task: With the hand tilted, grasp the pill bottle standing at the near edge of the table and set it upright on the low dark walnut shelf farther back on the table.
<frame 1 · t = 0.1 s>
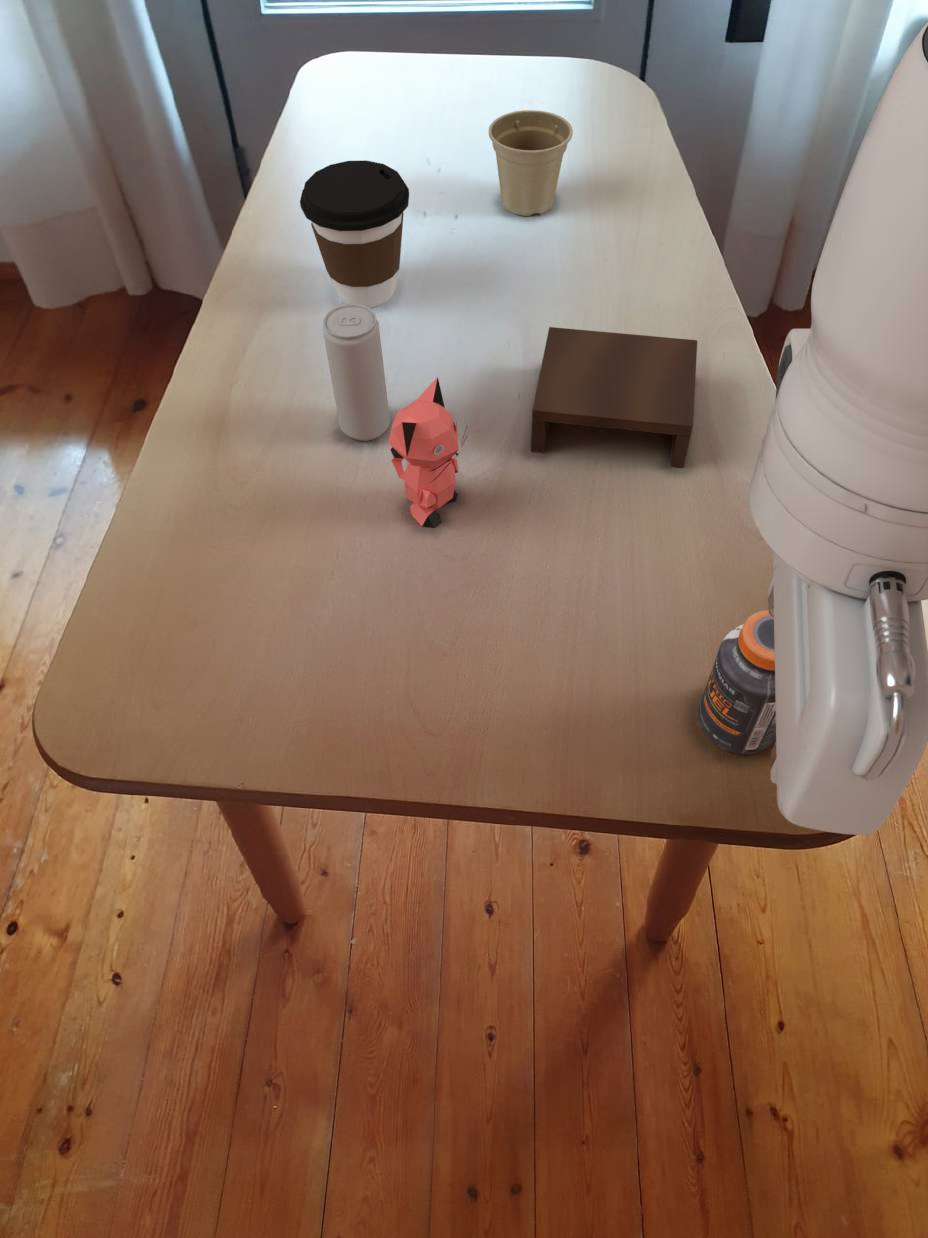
hand: (786, 685, 45), 22 cm above the table, tool pointing down, fingers open, 8 cm apart
beverage can: (365, 428, 90), on the table
flower pot: (528, 204, 113), on the table
shelf: (611, 415, 90), on the table
pill bottle: (737, 722, 70), on the table
coffee cup: (366, 293, 103), on the table
cat figurine: (428, 505, 84), on the table
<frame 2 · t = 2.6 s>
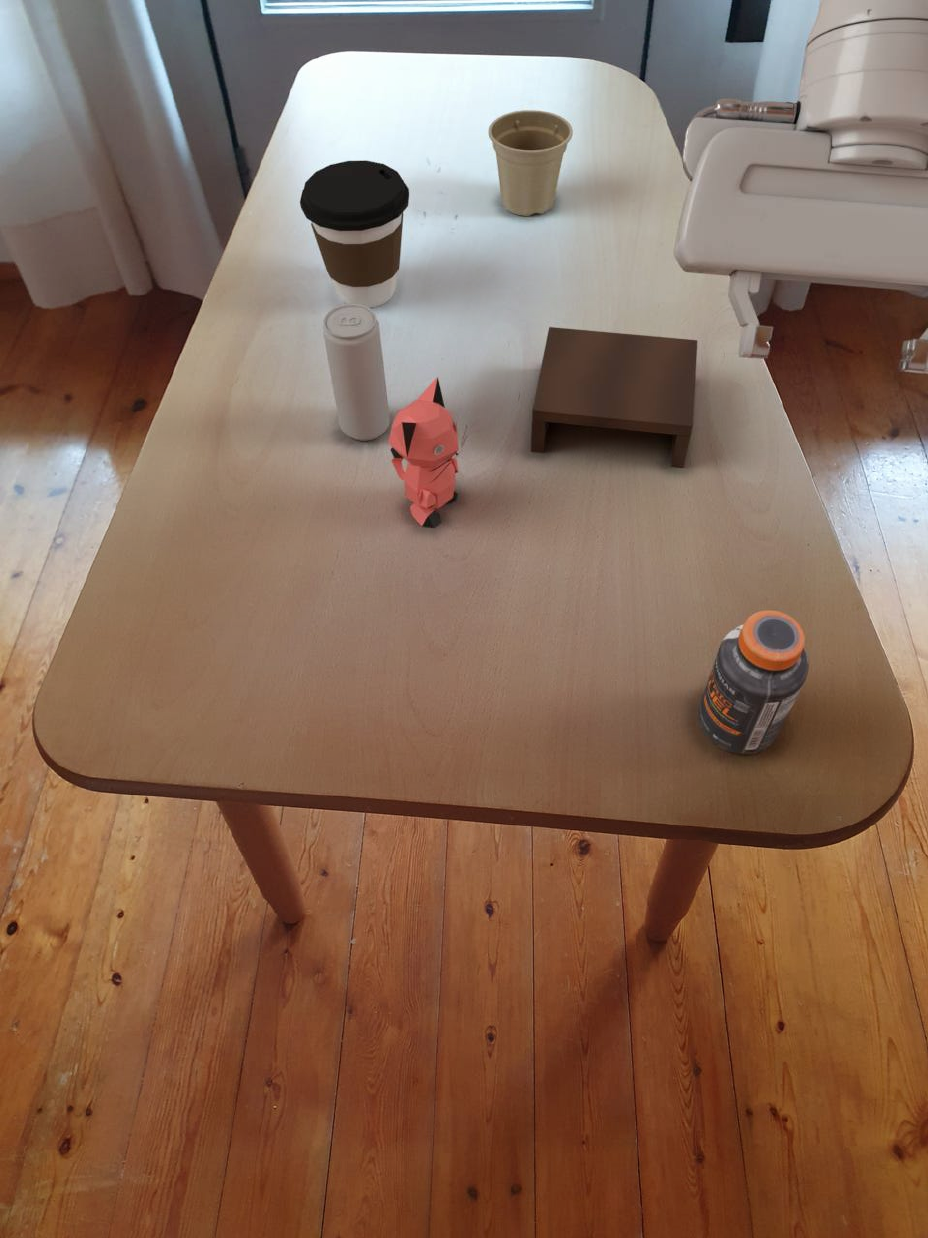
hand: (833, 364, 56), 25 cm above the table, tool tilted 40°, fingers open, 8 cm apart
nothing on the table moved.
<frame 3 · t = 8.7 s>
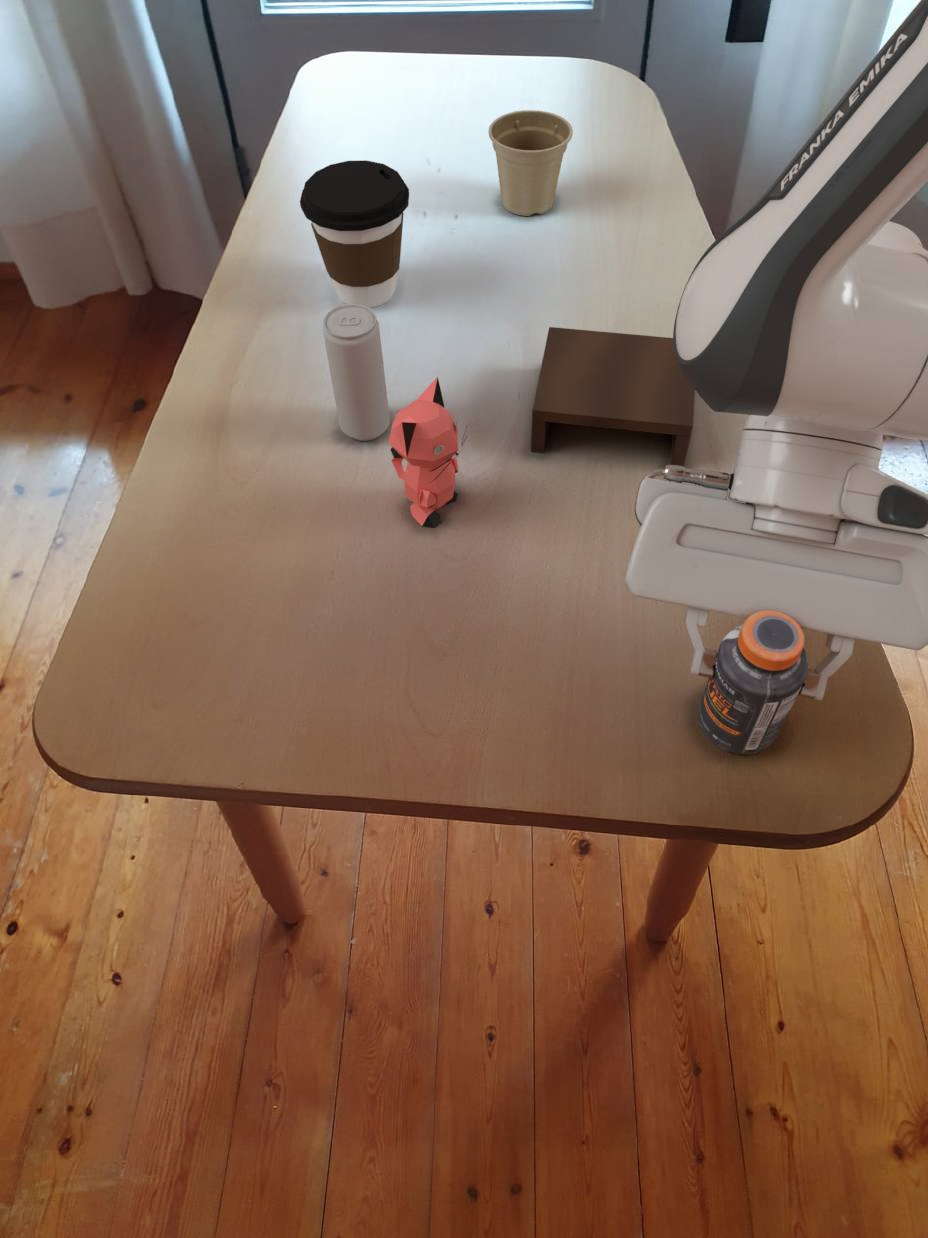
hand: (755, 686, 65), 6 cm above the table, tool tilted 45°, fingers closed on pill bottle, 6 cm apart
pill bottle: (736, 722, 70), on the table, touching gripper
everything else where it was.
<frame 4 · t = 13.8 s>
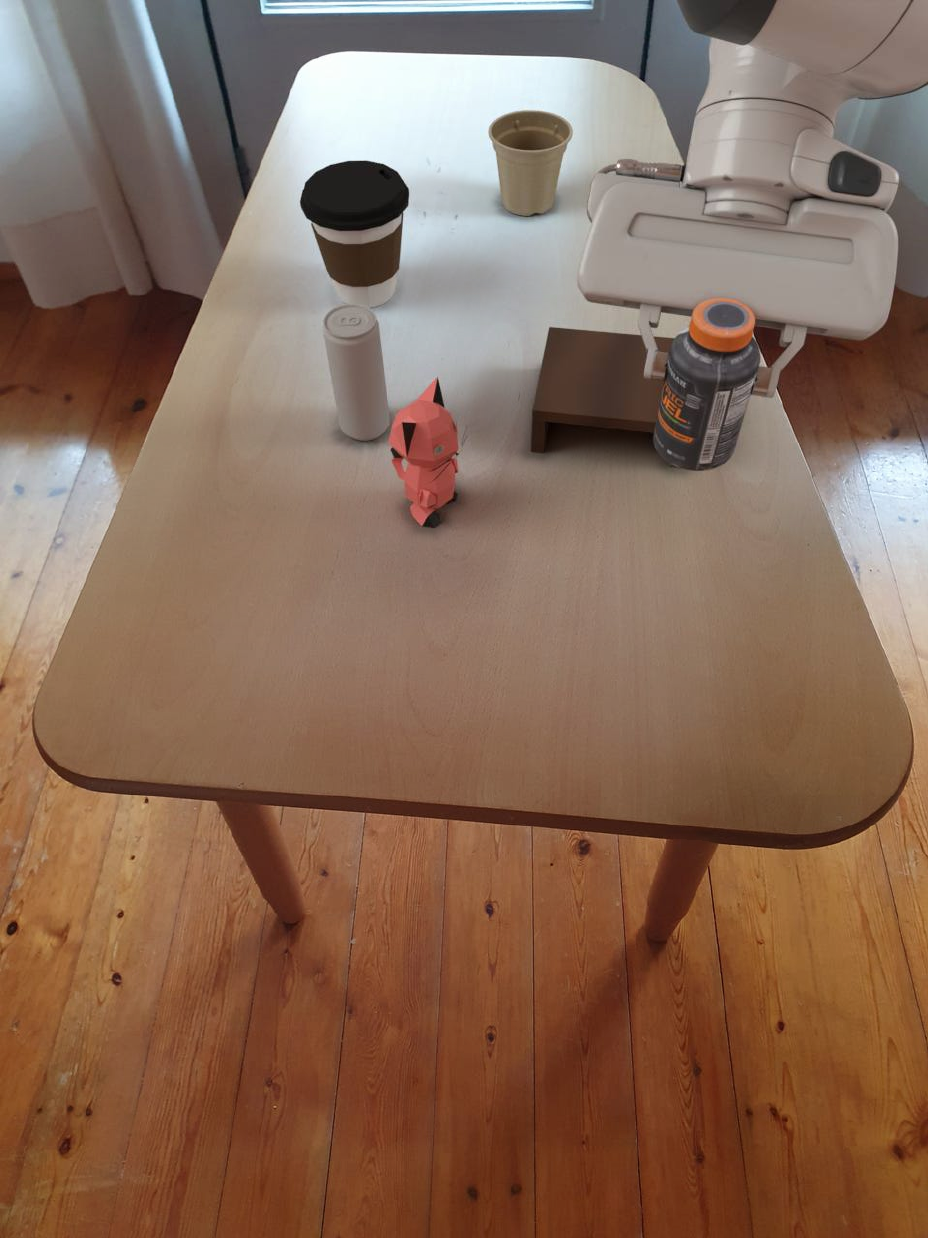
hand: (708, 387, 64), 19 cm above the table, tool tilted 45°, fingers closed on pill bottle, 6 cm apart
pill bottle: (692, 447, 69), point 12 cm above the table, touching gripper
everything else where it was.
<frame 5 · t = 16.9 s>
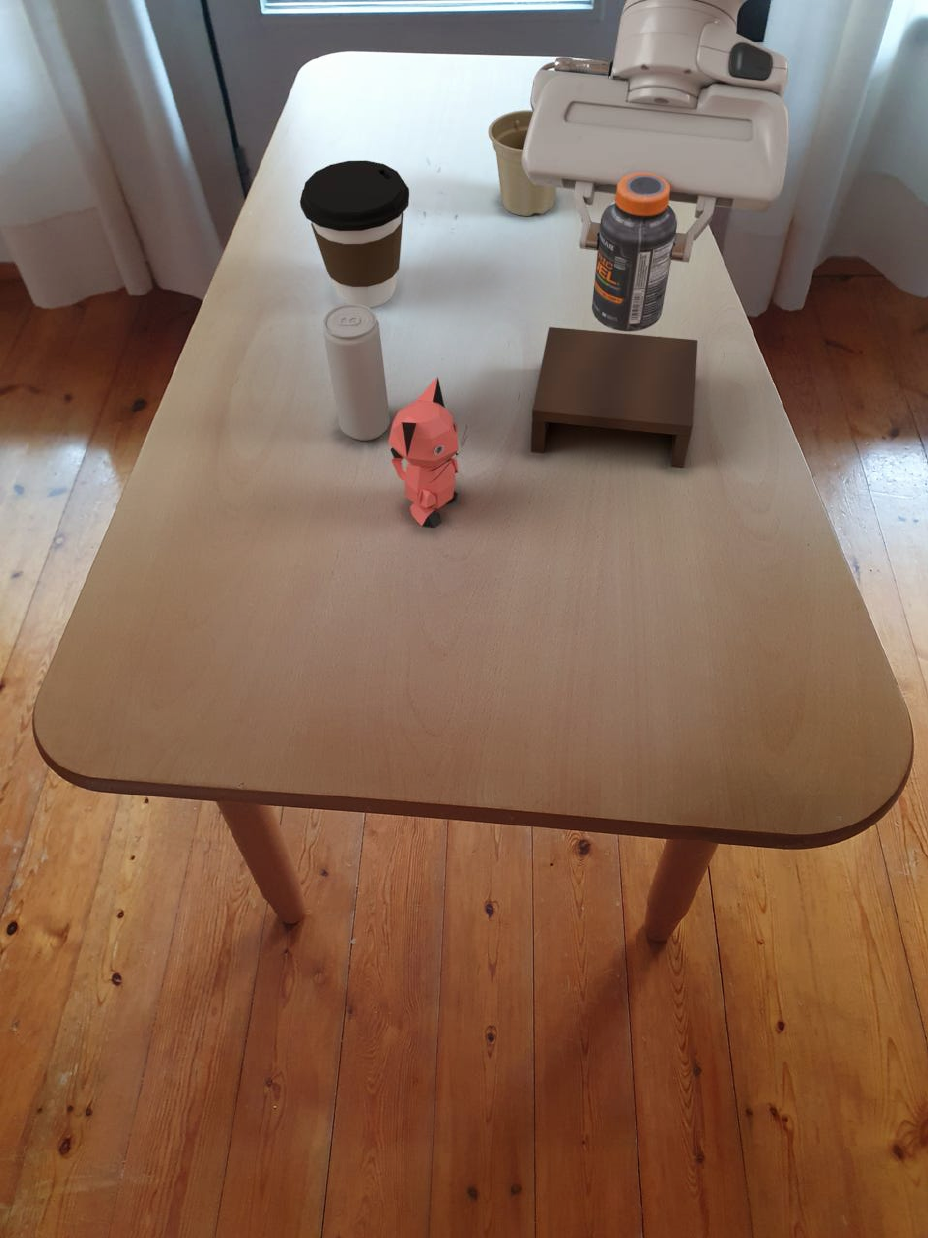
hand: (634, 254, 75), 18 cm above the table, tool tilted 45°, fingers closed on pill bottle, 6 cm apart
pill bottle: (626, 314, 80), point 12 cm above the table, touching gripper
everything else where it was.
when the fingers open (11 cm above the table, at t = 19.4 s): pill bottle stays where it is, resting on shelf.
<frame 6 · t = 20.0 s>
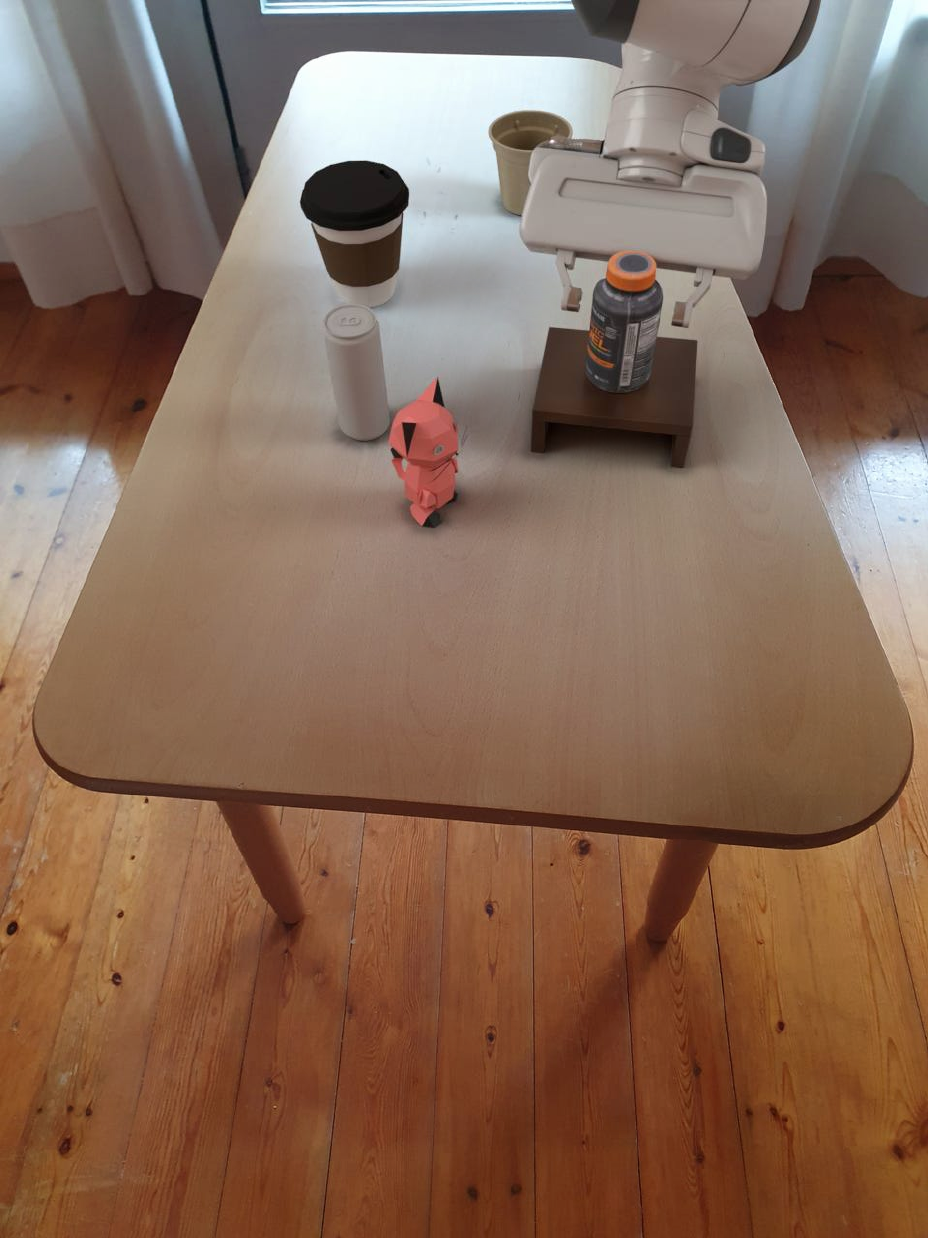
hand: (624, 318, 80), 11 cm above the table, tool tilted 45°, fingers open, 8 cm apart
pill bottle: (617, 375, 86), point 5 cm above the table, touching shelf
everything else where it was.
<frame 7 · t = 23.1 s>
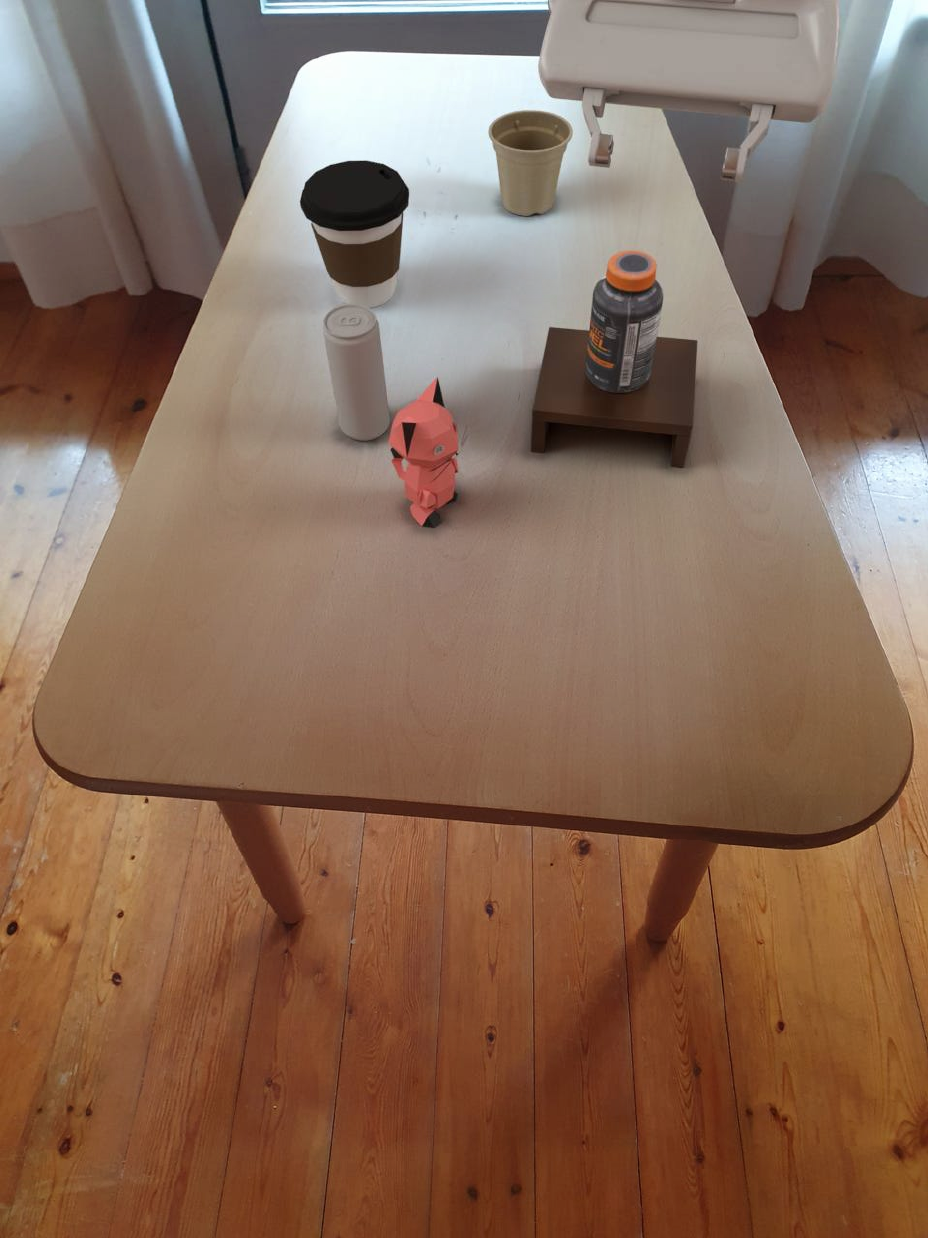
hand: (664, 171, 67), 26 cm above the table, tool tilted 45°, fingers open, 8 cm apart
nothing on the table moved.
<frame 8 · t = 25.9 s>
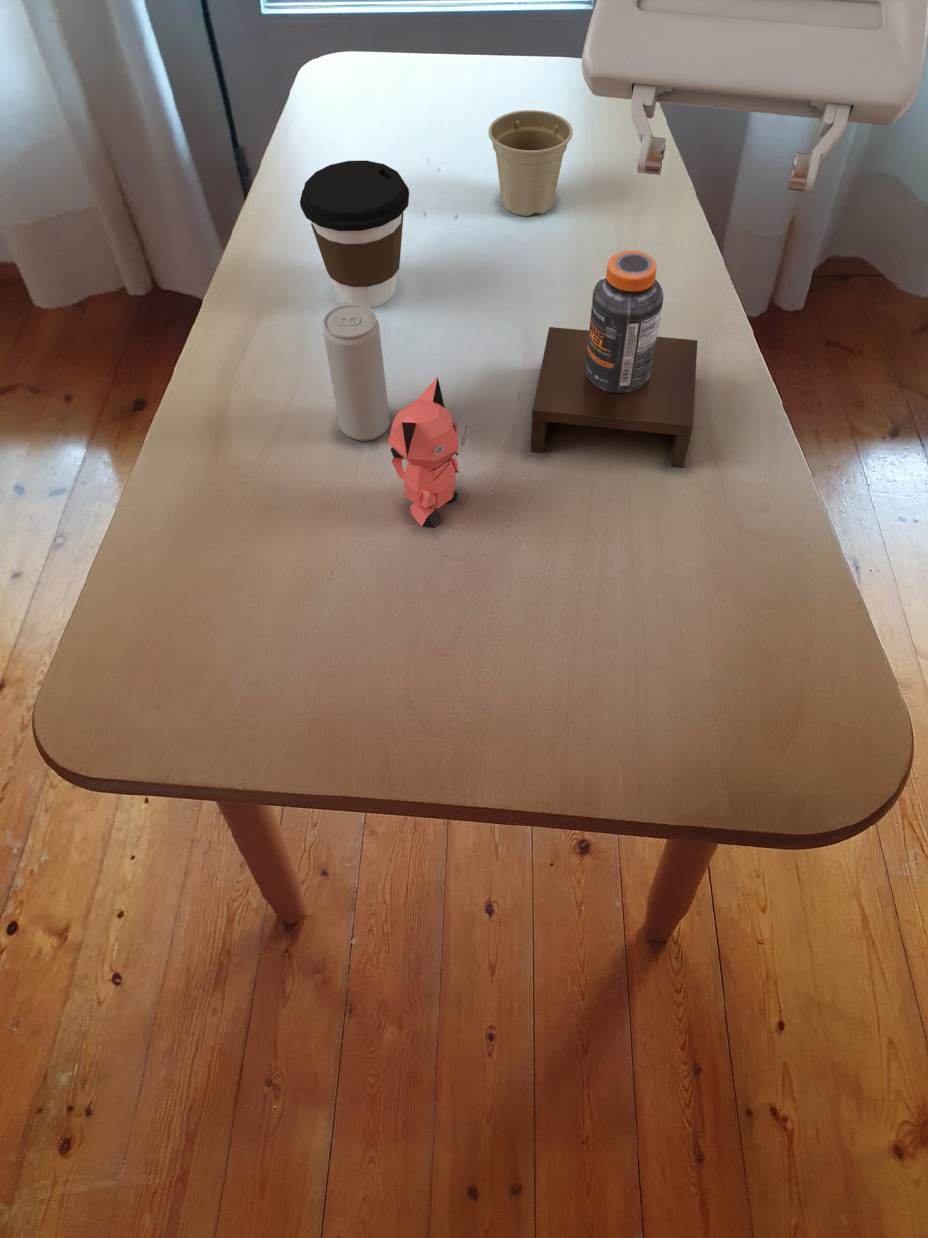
hand: (723, 179, 59), 29 cm above the table, tool tilted 45°, fingers open, 8 cm apart
nothing on the table moved.
at the end: pill bottle inside the target area on the shelf (0.0 cm from its centre), point 4.8 cm above the shelf's base; pill bottle tilted 0°; the gripper is holding nothing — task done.
